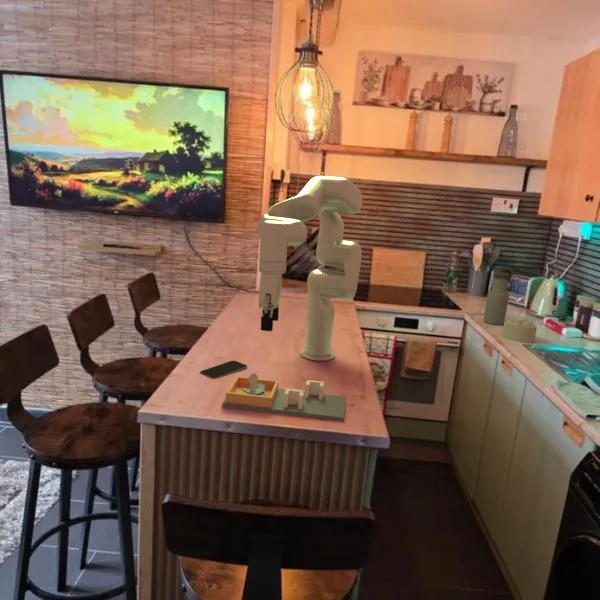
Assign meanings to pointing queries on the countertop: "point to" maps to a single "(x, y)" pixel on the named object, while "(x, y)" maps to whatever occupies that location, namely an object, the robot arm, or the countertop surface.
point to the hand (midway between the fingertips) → (269, 325)
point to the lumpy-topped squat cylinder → (519, 330)
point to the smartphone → (224, 369)
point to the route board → (302, 403)
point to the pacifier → (253, 390)
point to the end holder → (242, 397)
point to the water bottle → (498, 296)
